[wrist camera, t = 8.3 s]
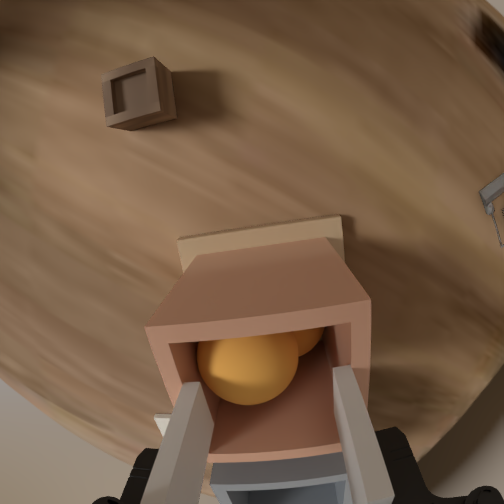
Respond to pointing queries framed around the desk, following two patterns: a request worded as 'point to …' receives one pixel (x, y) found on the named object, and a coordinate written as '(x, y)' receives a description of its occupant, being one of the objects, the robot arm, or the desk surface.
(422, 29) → the desk surface
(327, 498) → the double square tube
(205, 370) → the ball
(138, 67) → the stand
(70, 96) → the desk surface
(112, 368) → the desk surface
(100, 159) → the desk surface
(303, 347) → the ball in tube
